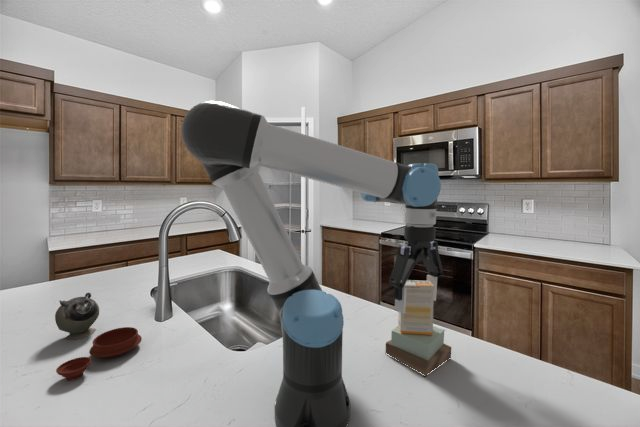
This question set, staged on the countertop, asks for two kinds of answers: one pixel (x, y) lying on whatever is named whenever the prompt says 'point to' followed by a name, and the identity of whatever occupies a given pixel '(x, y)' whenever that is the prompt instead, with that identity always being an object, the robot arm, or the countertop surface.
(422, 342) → the tower top block
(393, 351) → the tower base block
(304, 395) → the robot arm
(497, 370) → the countertop surface
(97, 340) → the pottery
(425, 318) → the supplement box
